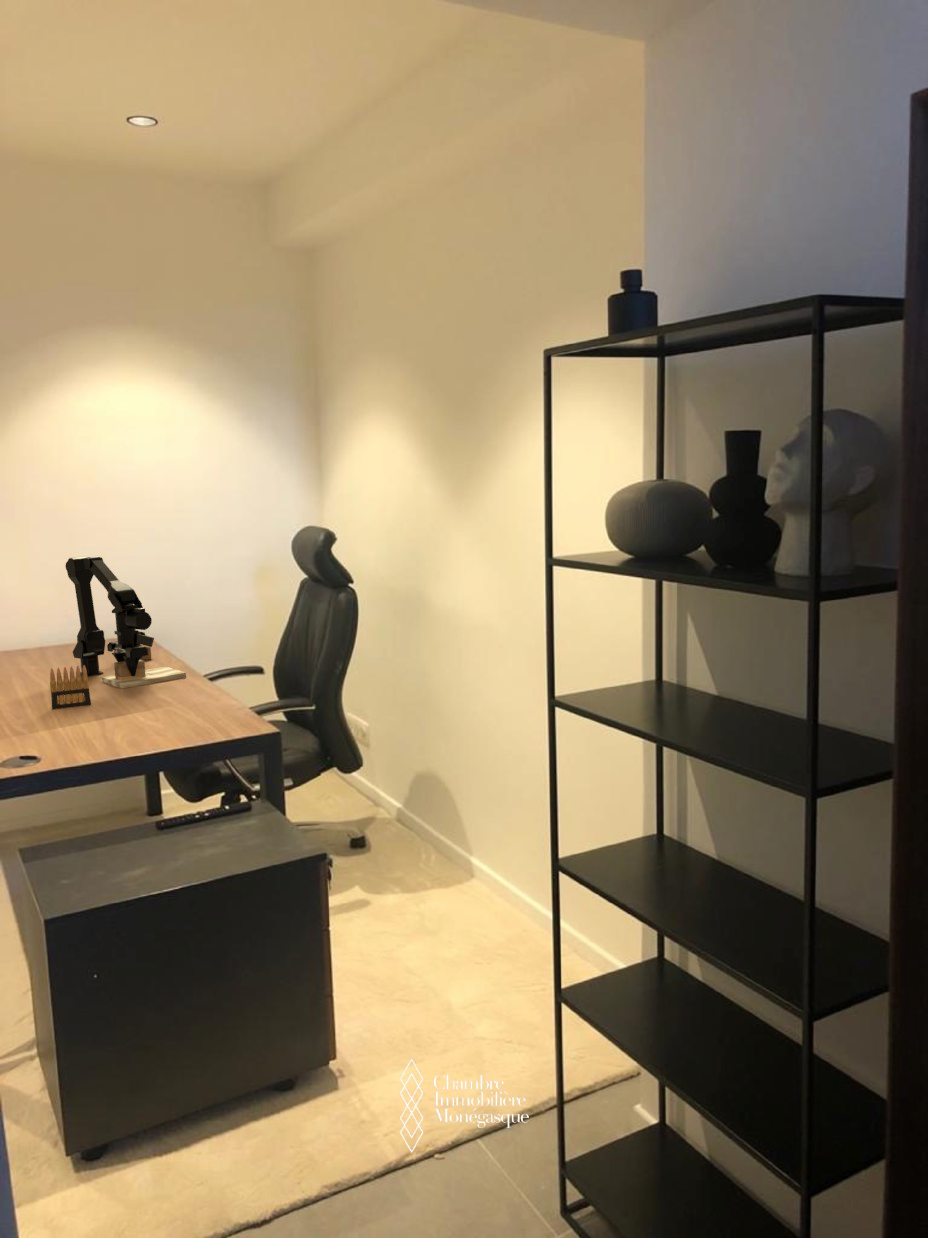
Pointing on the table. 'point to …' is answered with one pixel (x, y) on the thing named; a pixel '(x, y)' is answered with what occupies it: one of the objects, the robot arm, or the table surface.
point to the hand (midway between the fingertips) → (129, 675)
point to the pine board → (146, 677)
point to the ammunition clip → (69, 689)
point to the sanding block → (123, 670)
